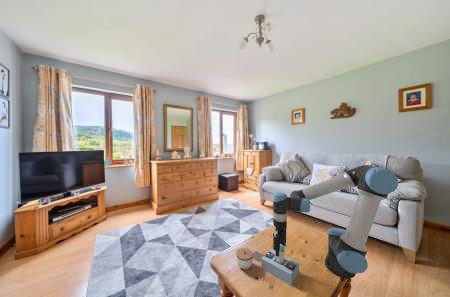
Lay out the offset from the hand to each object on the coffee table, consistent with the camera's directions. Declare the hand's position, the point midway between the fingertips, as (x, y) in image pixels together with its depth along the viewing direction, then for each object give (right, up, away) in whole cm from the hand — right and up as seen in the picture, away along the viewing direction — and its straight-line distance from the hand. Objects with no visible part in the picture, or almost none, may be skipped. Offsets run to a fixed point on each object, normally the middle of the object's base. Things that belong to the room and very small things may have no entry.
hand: (280, 258), depth 97 cm
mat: (-11, -7, +13) cm, 18 cm away
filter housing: (0, -7, 0) cm, 7 cm away
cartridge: (0, -5, 0) cm, 5 cm away
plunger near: (+5, -4, -5) cm, 8 cm away
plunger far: (-5, -4, +5) cm, 8 cm away
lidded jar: (-21, -8, +4) cm, 22 cm away
